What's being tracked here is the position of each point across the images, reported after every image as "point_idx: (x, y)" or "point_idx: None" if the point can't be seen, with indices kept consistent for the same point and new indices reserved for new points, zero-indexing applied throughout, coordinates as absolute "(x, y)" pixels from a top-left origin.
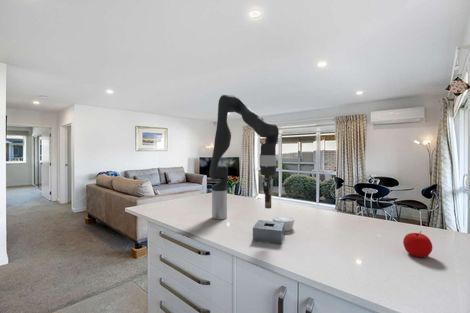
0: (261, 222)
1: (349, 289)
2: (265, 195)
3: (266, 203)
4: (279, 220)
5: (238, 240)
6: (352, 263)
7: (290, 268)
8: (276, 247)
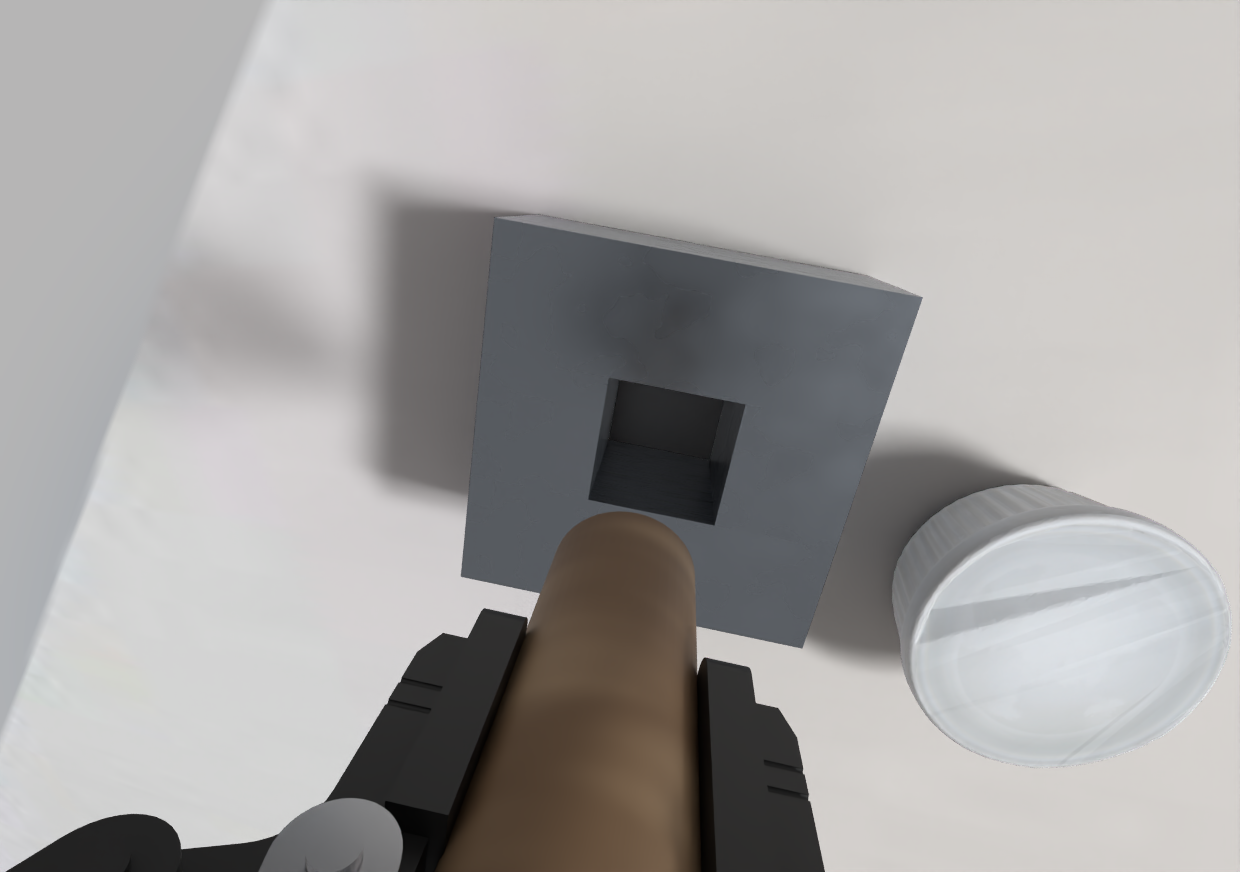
0: (775, 345)
1: (24, 742)
2: (407, 769)
3: (538, 605)
4: (1017, 592)
5: (517, 20)
6: None
7: (100, 517)
8: (421, 456)
